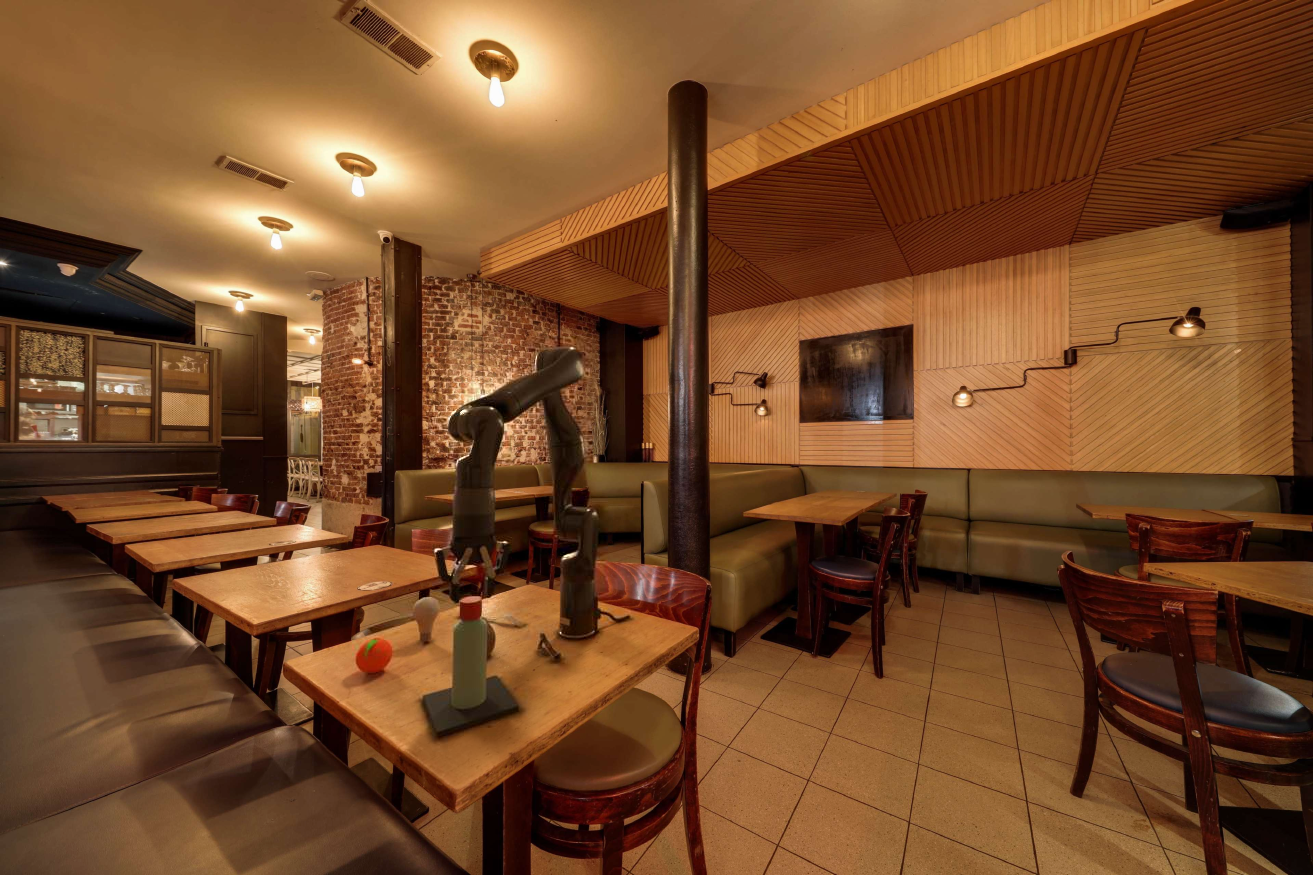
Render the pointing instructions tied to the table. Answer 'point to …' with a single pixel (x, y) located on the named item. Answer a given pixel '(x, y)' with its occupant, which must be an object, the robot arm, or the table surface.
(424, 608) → the lightbulb
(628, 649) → the table surface
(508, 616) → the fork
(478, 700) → the bottle
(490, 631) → the vase
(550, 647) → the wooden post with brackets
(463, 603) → the cap
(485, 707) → the coaster
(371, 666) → the clementine
